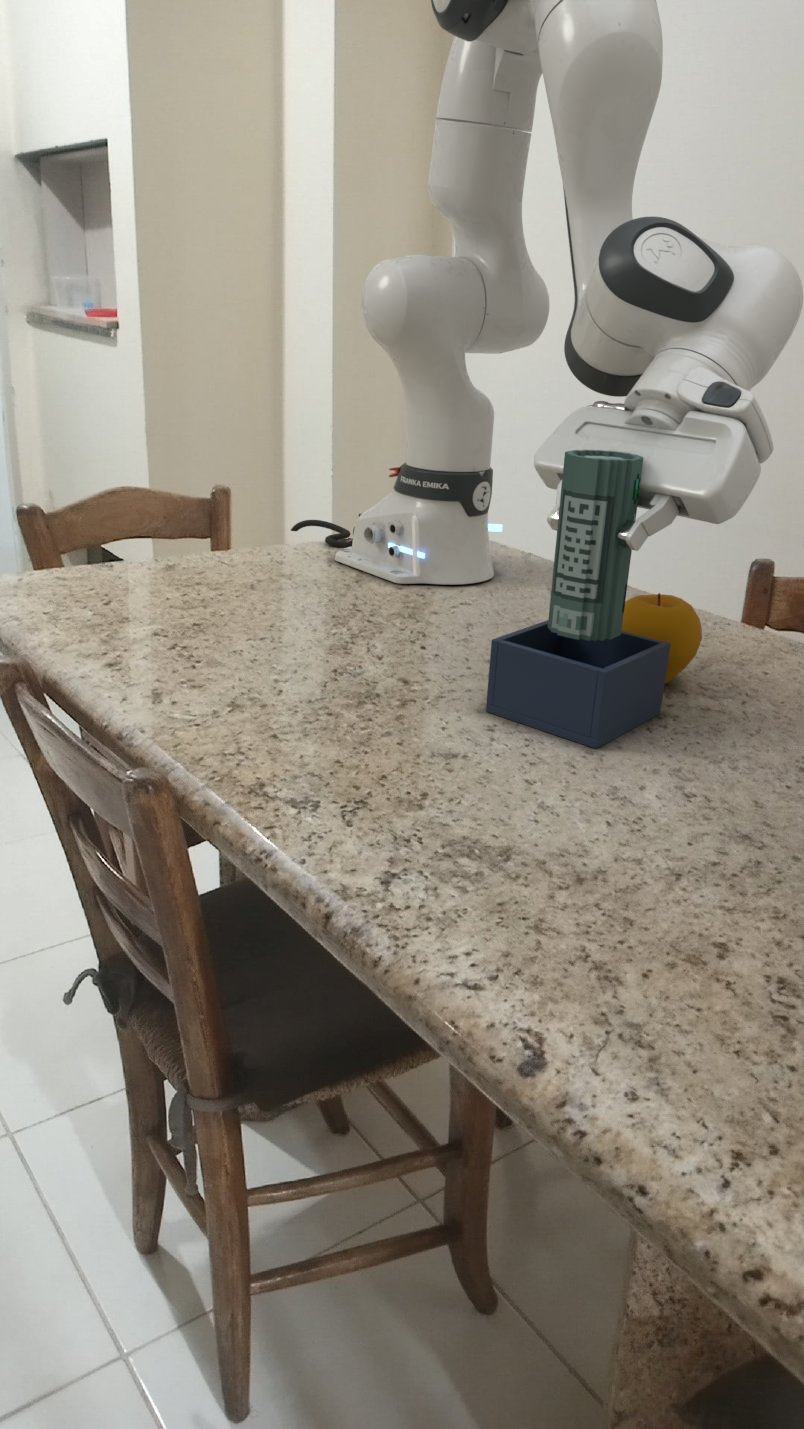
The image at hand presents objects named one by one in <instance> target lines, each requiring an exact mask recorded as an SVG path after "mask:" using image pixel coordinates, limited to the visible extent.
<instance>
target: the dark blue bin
mask: <svg viewBox="0 0 804 1429" xmlns="http://www.w3.org/2000/svg"><path fill="white" fill-rule="evenodd" d="M549 629H550V628H548V619H547V620H543V621H541V622H538V623H535V624H533V625H529V626H527V627H523V628H520V629H518V630H515V631H511V632H509V633H506V634H503V635H501V636H498V637H495V638H492V639H491V645H490V657H489V669H488V678H487V679H488V681H487V692H486V704H485V712H486V713H490V714H492V715H495V716H499V717H502V718H504V719H507V720H510V721H513V722H516V723H519V724H522V725H525V726H528V727H530V728H534V729H536V730H539V731H542V732H546V733H548V734H550V735H554V736H557V737H559V738H563V739H566V740H569V741H571V742H575V743H577V744H580V745H583V746H587V747H589V748H592V749H595V750H597V749H598V748H601V747H602V746H604V745H607V743H609V742H611V741H613V740H615V739H617V738H619V737H620V736H622V735H624V734H626V733H628V732H629V731H632V730H633V729H635V728H636V727H639V726H641V725H642V724H644V723H646V722H648V721H650V720H652V719H653V718H655V717H657V716H659V715H660V714H661V710H662V704H663V696H664V691H665V684H666V683H665V678H666V671H667V665H668V658H669V652H670V645H671V643H667V642H663V641H659V640H655V639H652V638H648V637H644V636H640V635H636V634H632V633H628V632H625V631H621V635H619V636H617V637H615V638H613V639H611V640H610V639H605V640H603V641H601V640H596V641H594V640H590V641H588V640H583V639H579V640H577V639H573V638H568V637H564V636H560V635H557V633H554V632H551V630H549Z"/></svg>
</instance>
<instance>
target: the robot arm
mask: <svg viewBox="0 0 804 1429" xmlns="http://www.w3.org/2000/svg"><path fill="white" fill-rule="evenodd" d="M430 3H431V8H432V11H433V14H434V16H435V19H436V21H437V23H438V26H440V28H441V29H442V30H443V31H445V32H447V33H449V34H450V35H451V36H452V35H453V36H454V37H453V38H452V42H451V44H450V45H451V46H450V49H449V53H448V55H447V60H446V63H445V67H444V71H443V76H442V81H441V84H440V92H439V96H438V102H437V110H436V116H435V118H436V119H435V125H434V132H433V141H432V148H431V156H430V165H429V171H428V180H427V181H428V182H427V189H428V190H427V191H428V196H429V198H430V201H431V204H432V205H433V207H434V208H435V209H436V210H437V211H438V212H439V213H440V214H441V215H442V216H443V217H444V218H445V219H446V220H448V222H449V224H450V227H451V229H452V232H453V237H454V247H455V249H454V250H455V251H454V256H449V255H448V256H446V255H445V256H444V255H437V254H436V255H434V254H423V253H414V254H407V255H401V256H396V257H392V258H386V259H383V260H380V261H379V262H378V263H376V264H375V265H374V267H373V268H372V269H371V271H370V272H369V274H368V275H367V277H366V279H365V282H364V285H363V288H362V293H361V298H360V299H361V300H360V302H361V303H360V306H361V314H362V318H363V319H362V320H363V322H364V325H365V327H366V329H367V332H368V333H369V334H370V336H371V338H372V339H373V340H374V341H375V342H376V343H377V344H378V345H379V346H380V347H381V348H382V349H383V350H384V351H385V352H386V354H387V355H388V356H389V358H390V359H391V361H392V364H393V365H394V367H395V369H396V371H397V374H398V377H399V379H400V382H401V385H402V389H403V393H404V399H405V408H406V438H405V439H406V444H405V446H406V447H405V462H404V463H402V464H401V465H400V466H397V467H392V468H391V467H390V468H388V471H394V472H392V473H389V474H388V475H387V476H388V478H396V477H397V478H396V479H395V483H394V485H393V490H392V491H391V492H390V493H388V494H387V495H386V496H384V497H383V498H382V499H380V500H379V501H378V502H376V503H375V504H373V505H372V506H371V507H369V508H368V509H367V510H365V511H364V512H362V513H358V518H357V519H356V522H355V525H354V527H353V529H352V539H350V540H349V541H341V540H346V539H348V538H349V537H351V531H350V530H349V529H347V528H345V527H343V526H340V525H338V524H336V523H332V522H329V521H325V520H321V519H305V520H301V521H299V522H297V523H296V524H294V525H293V526H292V527H291V529H290V531H291V532H298V531H299V530H301V529H303V528H306V527H318V528H319V527H320V528H325V529H328V530H332V531H334V532H337V533H333V534H329V535H327V536H325V539H324V541H325V543H326V544H327V545H329V546H332V547H334V548H342V549H339V550H337V551H336V553H335V555H334V561H336V562H338V563H341V564H343V565H345V566H349V567H352V568H354V569H357V570H360V571H362V572H365V573H368V574H370V575H373V576H376V577H379V578H381V579H384V580H386V581H389V582H391V583H395V584H403V585H408V584H409V585H412V584H415V585H416V584H429V585H448V586H449V585H450V586H451V585H468V584H469V585H470V584H476V583H477V584H478V583H481V582H486V581H488V580H491V579H492V578H493V577H494V576H495V572H494V567H493V561H492V556H491V547H490V534H489V532H496V533H497V532H501V533H502V532H503V524H500V523H499V524H498V523H489V510H490V507H491V506H490V505H491V502H492V501H491V500H492V495H493V484H494V483H493V481H494V469H493V468H492V467H491V462H492V451H493V450H492V448H493V437H494V423H495V409H494V406H493V403H492V402H491V399H490V398H488V396H487V395H486V394H485V393H484V392H483V391H481V390H480V389H478V388H477V387H476V386H474V384H473V382H472V380H471V378H470V376H469V372H468V369H467V365H466V364H467V363H466V362H467V361H466V354H487V355H488V354H489V355H491V354H492V355H493V354H494V355H495V354H496V355H499V354H504V353H508V352H512V351H516V350H520V349H523V348H526V347H529V346H531V345H533V344H534V343H535V342H536V341H538V339H539V338H540V337H541V335H542V334H543V332H544V330H545V327H546V326H547V323H548V319H549V315H550V296H549V292H548V288H547V285H546V283H545V281H544V279H543V277H542V276H541V275H540V274H539V273H538V270H536V268H535V266H534V265H533V264H534V263H533V262H532V260H531V258H530V255H529V254H530V253H529V252H528V248H527V243H526V239H525V233H524V224H523V198H524V188H525V180H526V173H527V166H528V165H527V164H528V158H529V151H530V145H531V138H532V132H533V126H534V118H535V111H536V102H537V94H538V88H539V83H540V79H541V77H542V78H543V82H544V87H545V93H546V98H547V103H548V109H549V113H550V118H551V123H552V129H553V135H554V140H555V145H556V152H557V159H558V165H559V170H560V176H561V180H562V188H563V198H564V207H565V208H564V209H565V219H566V228H567V229H566V230H567V237H568V246H569V254H570V264H571V273H572V282H573V292H574V293H573V294H574V302H573V303H574V304H573V311H572V315H571V319H570V321H569V324H568V328H567V331H566V335H565V339H564V348H563V349H564V350H563V352H564V357H565V361H566V364H567V367H568V368H569V370H570V372H571V373H572V375H573V376H574V378H576V379H577V380H578V381H579V382H580V384H582V385H583V386H584V387H586V388H587V389H589V390H591V391H593V392H595V393H598V394H600V395H604V396H608V397H616V398H619V397H621V398H623V397H625V398H624V403H621V402H620V403H619V402H618V403H617V402H616V403H611V402H608V401H604V400H597V401H594V403H593V404H590V405H587V406H582V407H580V408H578V409H576V410H574V411H573V412H571V413H570V414H569V415H568V416H566V418H565V419H563V421H562V422H561V423H560V424H559V425H558V426H557V427H556V428H555V429H554V430H553V431H552V432H551V434H550V435H549V436H548V437H547V438H546V440H545V441H544V442H542V444H541V446H539V448H538V449H537V450H536V452H535V453H534V456H533V467H534V469H535V471H536V473H537V474H538V475H539V478H540V479H541V481H542V482H543V483H544V485H545V486H546V487H547V488H549V489H551V490H556V498H555V505H554V506H553V508H552V509H551V511H550V512H549V514H548V515H547V517H546V522H547V524H548V525H549V527H550V528H551V530H553V531H557V528H558V518H559V508H560V497H561V487H562V477H563V467H564V457H565V452H566V451H572V450H603V451H617V452H625V453H631V454H636V455H638V456H641V457H643V466H642V474H641V480H640V483H639V488H640V489H639V497H638V505H637V508H640V509H645V510H647V511H645V512H644V513H643V514H642V515H640V516H639V517H637V518H636V520H635V521H632V520H626V522H625V523H624V524H623V526H622V529H620V530H619V531H618V533H617V540H618V541H619V542H620V545H621V547H624V548H627V549H631V550H632V551H636V552H637V551H639V550H640V549H641V548H642V546H644V543H645V542H647V539H648V538H649V537H652V536H653V535H655V534H656V533H658V532H660V531H661V530H663V529H665V528H667V527H668V526H671V525H672V524H673V522H674V521H675V519H676V518H677V516H678V517H681V518H686V519H691V520H695V521H700V522H705V523H708V524H709V523H710V524H714V525H721V524H723V523H725V522H727V521H729V520H731V519H733V518H734V517H736V515H737V514H738V513H739V512H740V510H741V509H742V507H743V506H744V504H745V503H746V501H747V500H748V498H749V496H750V495H751V493H752V491H753V490H754V488H755V486H756V484H757V482H758V480H759V478H760V476H761V473H762V472H761V471H762V466H761V465H762V464H763V463H765V462H766V461H767V460H769V458H770V457H771V455H772V454H773V452H774V449H775V447H774V443H773V438H772V434H771V431H770V428H769V426H768V423H767V420H766V417H765V415H764V413H763V411H762V409H761V406H760V405H759V403H758V401H757V399H756V397H755V395H754V394H753V393H752V392H751V390H752V389H753V388H754V387H756V386H757V385H758V384H759V383H760V382H761V381H763V380H764V378H765V377H766V376H767V375H768V373H769V372H770V370H771V369H772V367H773V366H774V365H775V363H776V362H777V360H778V358H779V356H780V355H781V354H782V351H783V350H784V349H785V347H786V346H787V344H788V342H789V340H790V338H791V337H792V335H793V333H794V331H795V329H796V327H797V325H798V322H799V320H800V316H801V313H802V310H803V304H804V289H803V283H802V280H801V276H800V274H799V273H798V270H797V268H796V267H795V266H794V264H793V263H792V262H791V261H790V259H789V258H787V257H786V256H785V255H784V254H782V253H781V252H780V251H778V250H777V249H775V248H772V247H770V246H768V245H765V244H758V243H757V244H746V245H738V246H737V245H736V246H735V245H734V246H733V245H726V244H722V243H718V242H714V241H711V240H708V239H705V238H703V237H700V236H697V235H696V233H694V232H692V231H691V230H690V229H689V228H687V227H686V226H684V225H683V224H681V223H679V222H677V221H676V220H673V219H670V218H666V217H662V216H641V217H637V218H634V217H633V194H634V185H635V178H636V174H637V169H638V165H639V160H640V157H641V154H642V151H643V147H644V144H645V140H646V137H647V134H648V131H649V127H650V124H651V121H652V118H653V115H654V112H655V109H656V105H657V101H658V98H659V94H660V91H661V86H662V81H663V80H662V78H663V62H664V57H663V56H664V55H663V54H664V52H663V51H664V45H663V43H664V42H663V29H662V22H661V17H660V13H659V7H658V2H657V0H430Z"/></svg>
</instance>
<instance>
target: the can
mask: <svg viewBox="0 0 804 1429" xmlns="http://www.w3.org/2000/svg"><path fill="white" fill-rule="evenodd" d="M642 466H643V457H641V456H638V455H636V454H631V453H625V452H617V451H603V450H572V451H566V452H565V457H564V467H563V477H562V487H561V497H560V508H559V518H558V528H557V530H556V538H555V549H554V560H553V569H552V578H551V589H550V599H549V609H548V619H547V620H548V628H550V629H549V630H551V632H554V633H557V635H560V636H564V637H568V638H573V639H577V640H579V639H583V640H588V641H590V640H594V641H596V640H601V641H603V640H605V639H610V640H611V639H613V638H615V637H617V636H619V635H621V631H622V623H623V615H624V607H625V602H626V598H627V591H628V584H629V575H630V567H631V560H632V559H631V558H632V553H633V552H632V551H633V550H631V549H627V548H624V547H621V545H620V542H619V541H618V540H617V533H618V531H619V530H620V529H622V526H623V524H624V523H625V522H626V520H632V521H635V520H636V519H637V513H638V507H637V505H638V497H639V489H640V488H639V483H640V480H641V474H642Z"/></svg>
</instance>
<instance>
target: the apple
mask: <svg viewBox="0 0 804 1429" xmlns="http://www.w3.org/2000/svg"><path fill="white" fill-rule="evenodd" d="M622 631H625V632H628V633H632V634H636V635H640V636H644V637H648V638H652V639H655V640H659V641H663V642H667V643H671V645H670V652H669V658H668V665H667V671H666V678H665V684H667V683H669V682H671V681H673V680H674V679H675V678H676V676H678V675H679V674H680V673H682V671H683V670H685V669H686V668H687V666H688V665H689V664H690V663H691V662H692V660H693V659H694V658H695V657H696V655H697V653H698V651H699V648H700V645H701V643H702V639H703V629H702V624H701V619H700V617H699V616H698V614H697V612H696V610H695V609H694V606H693V605H692V604H690V603H688V602H687V601H686V600H684V599H683V598H681V597H678V596H674V595H673V594H672V595H670V594H662V593H660V592H658V594H639V595H635V596H633V597H631V598H629V599H627V600H625V607H624V615H623V623H622Z"/></svg>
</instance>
